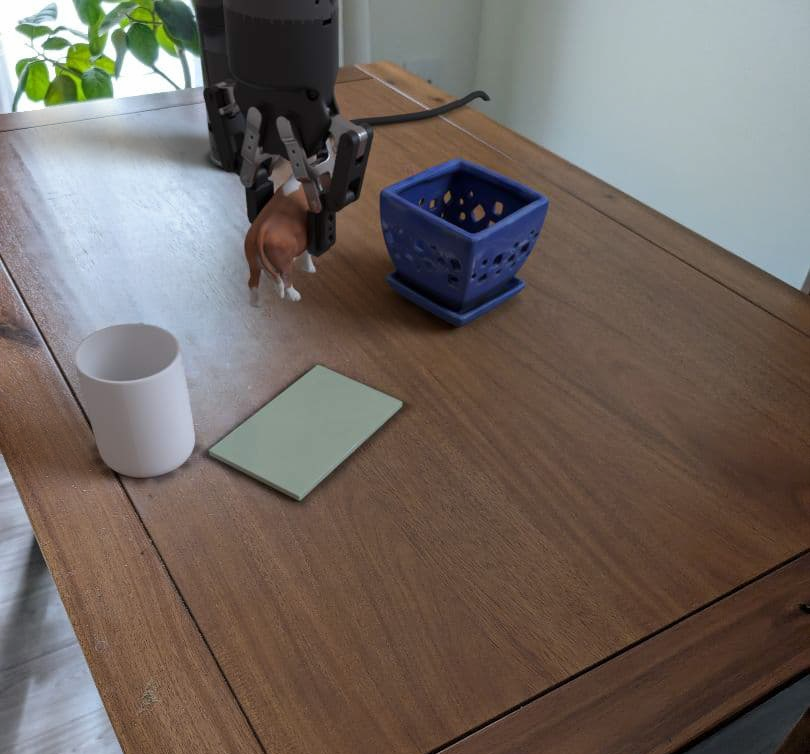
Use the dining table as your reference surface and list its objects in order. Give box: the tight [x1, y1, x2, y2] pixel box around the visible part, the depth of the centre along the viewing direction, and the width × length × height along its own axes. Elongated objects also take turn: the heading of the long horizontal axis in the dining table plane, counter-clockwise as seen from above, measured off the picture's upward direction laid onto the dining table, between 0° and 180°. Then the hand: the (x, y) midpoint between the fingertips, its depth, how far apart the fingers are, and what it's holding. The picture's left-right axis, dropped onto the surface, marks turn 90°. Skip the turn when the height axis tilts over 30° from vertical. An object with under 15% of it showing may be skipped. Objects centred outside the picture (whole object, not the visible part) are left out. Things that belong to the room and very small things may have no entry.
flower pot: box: [379, 157, 550, 328], centre depth 91 cm, size 13×13×12 cm
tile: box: [208, 364, 403, 502], centre depth 79 cm, size 16×10×1 cm, turn 147°
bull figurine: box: [243, 156, 322, 308], centre depth 68 cm, size 4×13×8 cm, turn 160°
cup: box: [73, 322, 196, 479], centre depth 73 cm, size 8×12×10 cm
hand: (291, 240), depth 68 cm, fingers closed on bull figurine, 5 cm apart
